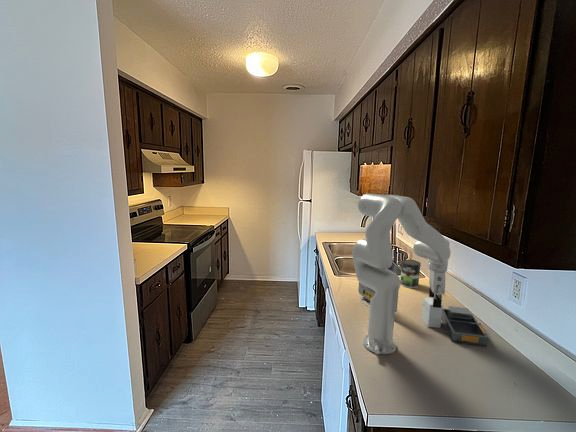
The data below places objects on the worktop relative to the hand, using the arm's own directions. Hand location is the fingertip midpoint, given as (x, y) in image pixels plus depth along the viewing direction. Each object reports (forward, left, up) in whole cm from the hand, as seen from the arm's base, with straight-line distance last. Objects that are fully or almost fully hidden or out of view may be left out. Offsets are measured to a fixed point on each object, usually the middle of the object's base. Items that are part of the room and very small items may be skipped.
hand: (434, 302), depth 136 cm
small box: (-1, +1, -10) cm, 10 cm away
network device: (+9, +25, -10) cm, 29 cm away
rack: (-3, -11, -10) cm, 15 cm away
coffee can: (+43, +5, -10) cm, 45 cm away
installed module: (+2, -11, -10) cm, 15 cm away
